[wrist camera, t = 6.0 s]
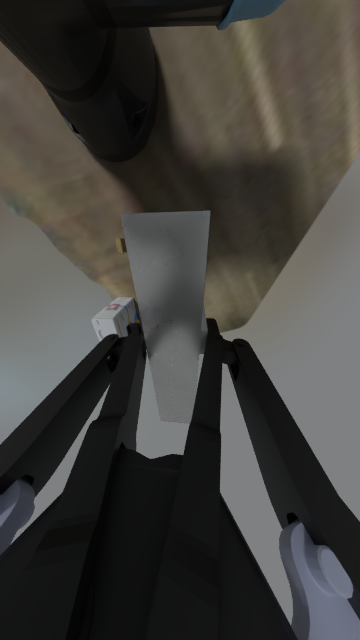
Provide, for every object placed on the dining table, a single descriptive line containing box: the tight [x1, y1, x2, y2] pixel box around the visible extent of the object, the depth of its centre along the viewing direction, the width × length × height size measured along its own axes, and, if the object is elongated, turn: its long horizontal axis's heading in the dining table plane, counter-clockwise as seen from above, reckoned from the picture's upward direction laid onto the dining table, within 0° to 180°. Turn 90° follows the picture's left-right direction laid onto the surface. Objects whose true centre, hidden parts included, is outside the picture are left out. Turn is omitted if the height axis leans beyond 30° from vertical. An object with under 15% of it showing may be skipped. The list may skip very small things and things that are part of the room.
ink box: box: [91, 297, 138, 341], centre depth 34 cm, size 9×5×12 cm, turn 1°
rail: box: [120, 211, 211, 424], centre depth 14 cm, size 20×4×7 cm, turn 1°
